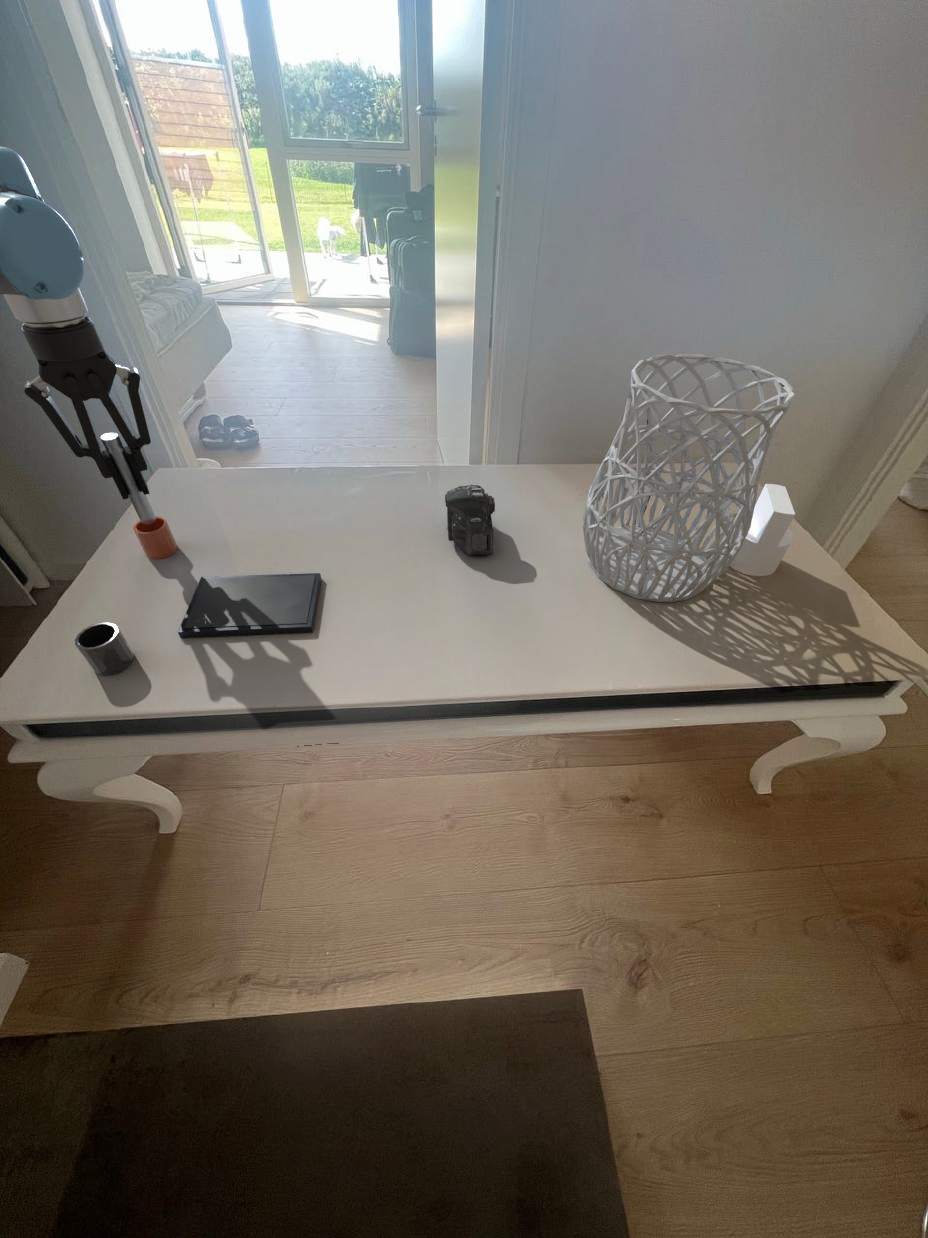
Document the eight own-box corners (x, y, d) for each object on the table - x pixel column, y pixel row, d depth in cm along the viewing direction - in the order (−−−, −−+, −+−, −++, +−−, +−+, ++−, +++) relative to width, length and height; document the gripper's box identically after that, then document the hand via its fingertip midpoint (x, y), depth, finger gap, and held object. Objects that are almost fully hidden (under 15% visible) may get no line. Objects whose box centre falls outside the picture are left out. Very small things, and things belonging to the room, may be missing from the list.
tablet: (180, 638, 72) (177, 631, 72) (203, 582, 81) (200, 576, 80) (312, 632, 74) (311, 626, 73) (321, 578, 83) (320, 572, 82)
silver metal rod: (147, 529, 82) (105, 441, 72) (140, 524, 83) (97, 436, 72) (160, 523, 84) (121, 436, 73) (153, 517, 85) (113, 430, 74)
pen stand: (94, 681, 67) (75, 654, 63) (92, 656, 70) (73, 630, 66) (136, 667, 68) (119, 641, 65) (132, 643, 71) (116, 617, 68)
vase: (636, 630, 76) (710, 431, 55) (547, 540, 92) (579, 359, 71) (754, 587, 84) (858, 399, 63) (655, 511, 100) (712, 340, 79)
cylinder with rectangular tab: (718, 540, 93) (745, 480, 85) (771, 549, 92) (804, 488, 84) (723, 570, 87) (753, 508, 79) (780, 580, 86) (817, 518, 77)
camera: (428, 524, 94) (427, 474, 87) (478, 513, 97) (481, 464, 90) (459, 567, 86) (461, 515, 79) (512, 553, 89) (518, 502, 82)
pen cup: (147, 562, 84) (135, 536, 81) (144, 546, 87) (131, 521, 84) (179, 553, 86) (168, 528, 82) (174, 538, 89) (164, 513, 85)
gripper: (122, 304, 68) (184, 470, 84) (-20, 317, 62) (76, 492, 78) (128, 319, 63) (193, 491, 80) (-25, 335, 57) (79, 517, 74)
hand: (135, 492), depth 79 cm, fingers closed on silver metal rod, 2 cm apart
